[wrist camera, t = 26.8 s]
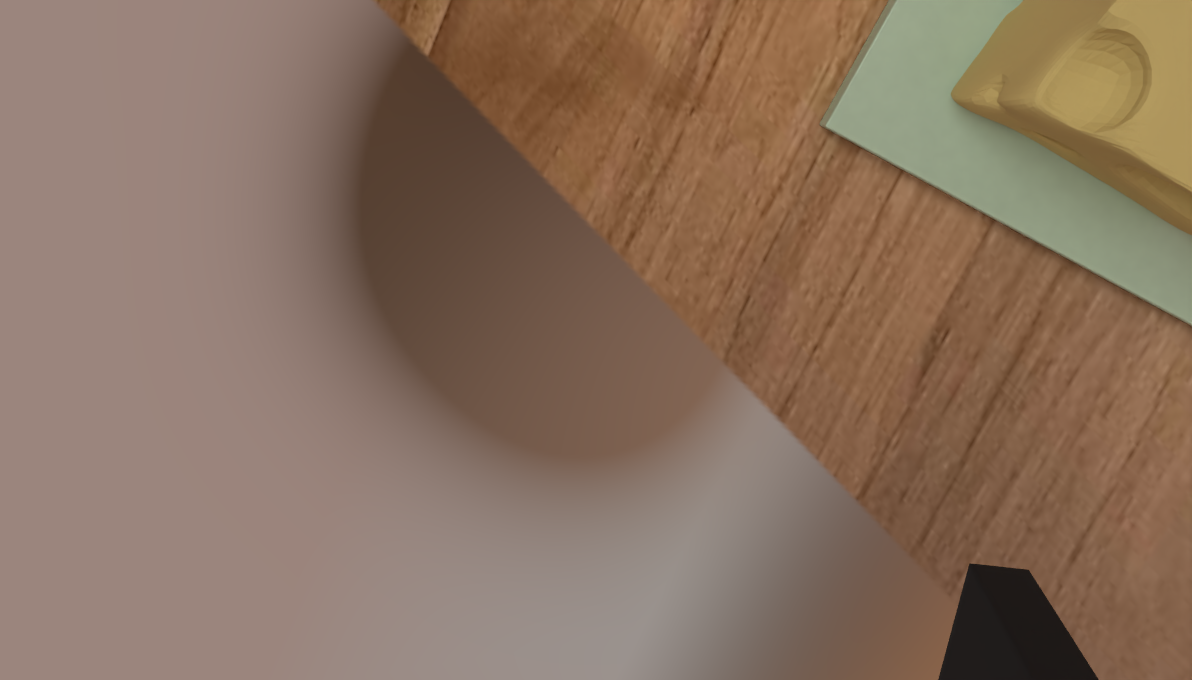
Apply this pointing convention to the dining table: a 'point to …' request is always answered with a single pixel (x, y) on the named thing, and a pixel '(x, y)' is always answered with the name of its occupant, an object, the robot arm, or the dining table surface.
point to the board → (997, 152)
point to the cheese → (1097, 92)
